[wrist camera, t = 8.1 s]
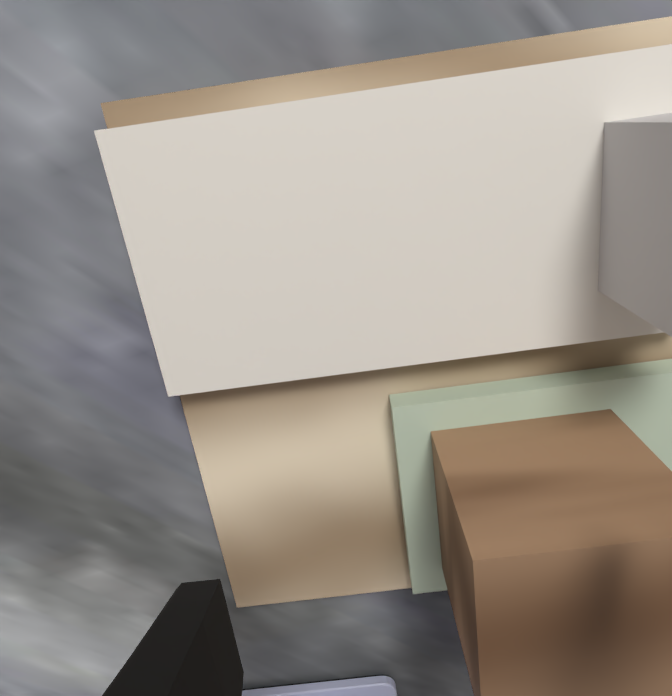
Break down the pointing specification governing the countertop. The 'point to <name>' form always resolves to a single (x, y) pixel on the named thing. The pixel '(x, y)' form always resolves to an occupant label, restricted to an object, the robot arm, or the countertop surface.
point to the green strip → (504, 406)
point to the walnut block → (557, 555)
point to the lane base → (350, 374)
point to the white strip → (403, 222)
